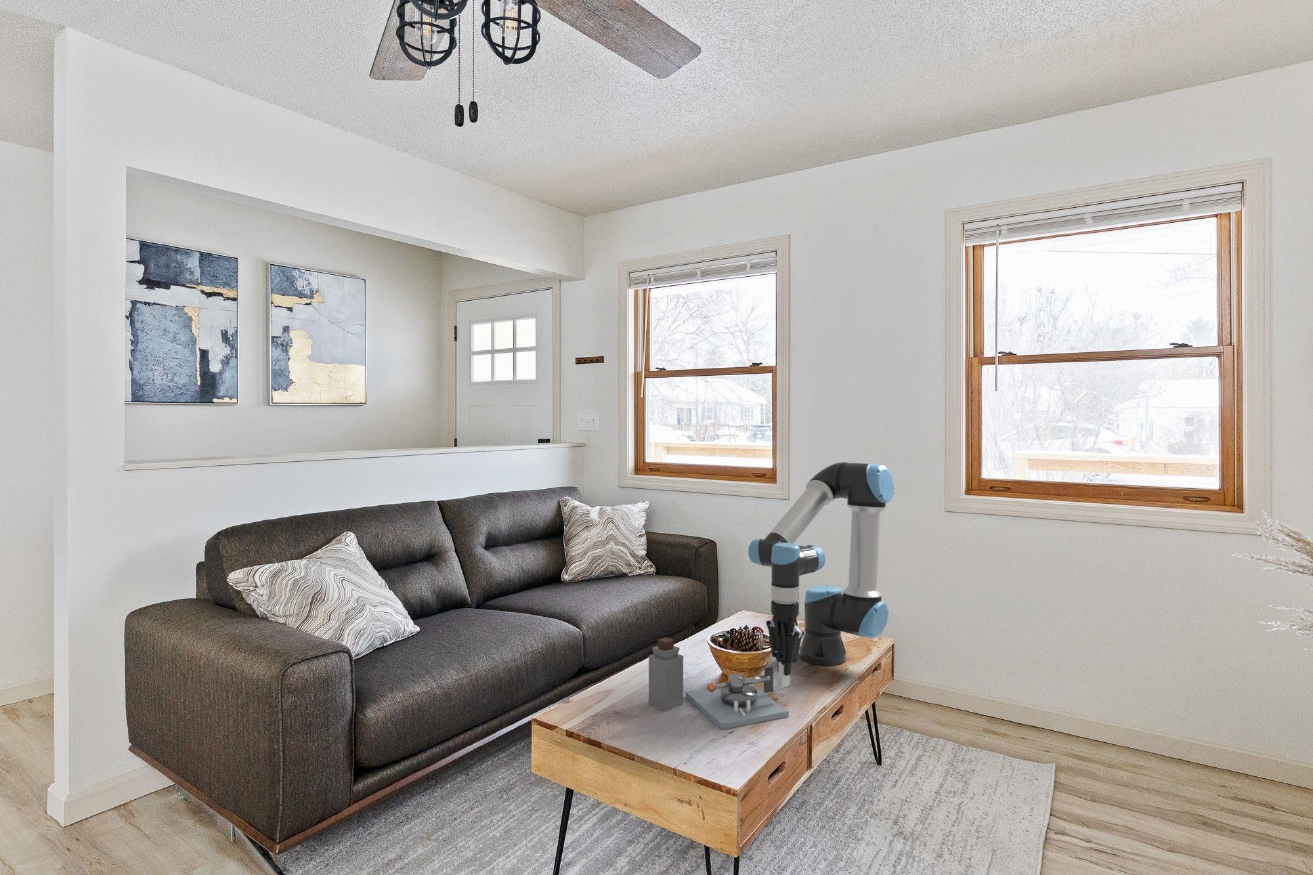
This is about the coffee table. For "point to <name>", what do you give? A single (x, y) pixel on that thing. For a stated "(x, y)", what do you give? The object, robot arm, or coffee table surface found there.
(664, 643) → the perfume bottle
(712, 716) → the stand
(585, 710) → the coffee table surface
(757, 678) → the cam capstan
